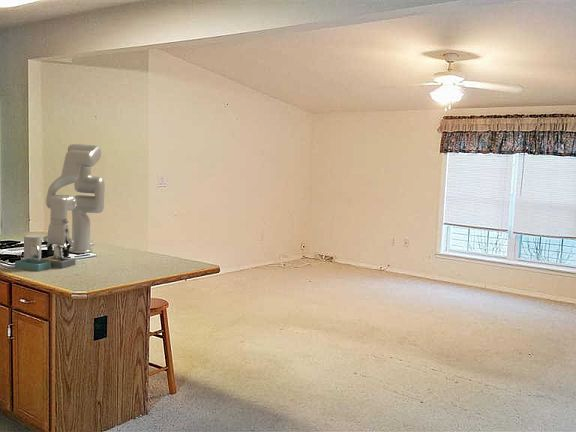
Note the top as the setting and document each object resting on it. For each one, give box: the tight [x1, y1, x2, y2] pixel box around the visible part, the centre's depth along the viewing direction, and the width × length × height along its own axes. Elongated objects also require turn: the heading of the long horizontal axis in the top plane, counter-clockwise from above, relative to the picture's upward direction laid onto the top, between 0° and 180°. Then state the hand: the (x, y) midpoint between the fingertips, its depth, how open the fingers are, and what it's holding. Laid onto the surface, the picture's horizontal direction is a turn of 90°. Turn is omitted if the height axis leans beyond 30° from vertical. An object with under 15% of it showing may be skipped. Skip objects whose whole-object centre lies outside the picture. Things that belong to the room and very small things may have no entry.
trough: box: [14, 258, 52, 272], centre depth 266 cm, size 9×14×3 cm, turn 73°
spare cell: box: [31, 245, 40, 260], centre depth 276 cm, size 4×4×9 cm
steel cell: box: [53, 245, 63, 261], centre depth 274 cm, size 4×4×9 cm
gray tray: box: [40, 255, 77, 269], centre depth 275 cm, size 10×13×3 cm
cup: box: [23, 234, 43, 260], centre depth 284 cm, size 8×8×12 cm
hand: (57, 255), depth 275 cm, fingers open, 9 cm apart
